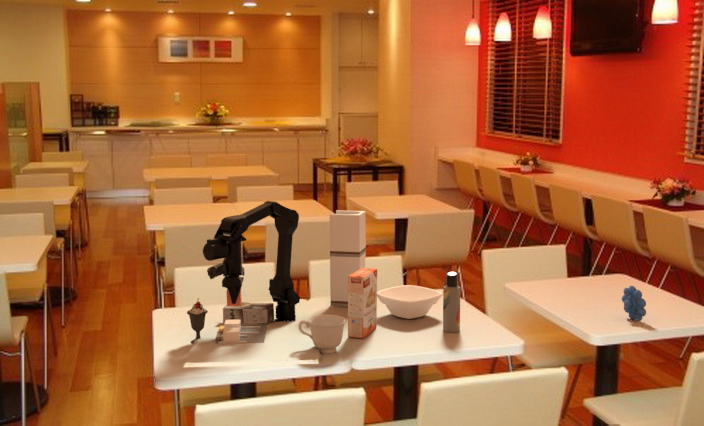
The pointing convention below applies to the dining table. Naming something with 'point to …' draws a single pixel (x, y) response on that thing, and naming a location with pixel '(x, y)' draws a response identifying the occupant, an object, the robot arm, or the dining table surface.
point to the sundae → (197, 318)
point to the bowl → (409, 300)
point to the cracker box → (362, 302)
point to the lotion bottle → (451, 303)
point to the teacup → (325, 331)
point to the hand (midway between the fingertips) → (234, 301)
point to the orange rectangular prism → (238, 302)
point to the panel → (244, 334)
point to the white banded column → (345, 251)
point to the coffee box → (250, 313)
